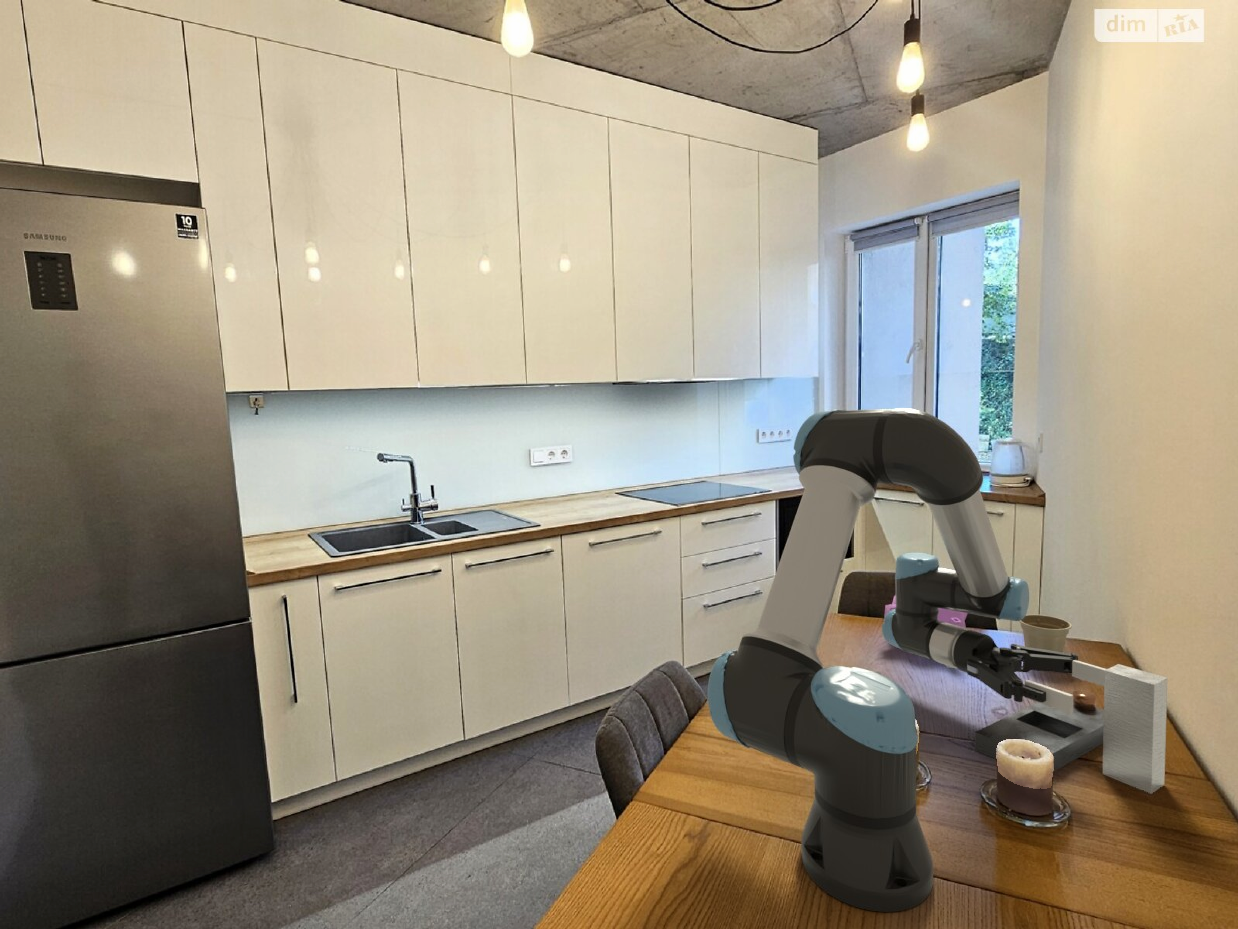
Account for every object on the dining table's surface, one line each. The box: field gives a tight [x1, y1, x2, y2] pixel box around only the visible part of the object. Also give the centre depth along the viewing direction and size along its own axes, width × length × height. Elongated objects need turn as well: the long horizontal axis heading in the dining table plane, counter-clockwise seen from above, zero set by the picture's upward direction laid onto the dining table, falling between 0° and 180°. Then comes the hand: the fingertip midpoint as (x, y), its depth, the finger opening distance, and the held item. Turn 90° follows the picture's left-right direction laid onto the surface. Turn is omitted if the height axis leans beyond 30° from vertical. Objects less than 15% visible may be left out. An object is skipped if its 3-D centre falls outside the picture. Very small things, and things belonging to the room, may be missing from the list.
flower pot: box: [1018, 614, 1073, 652], centre depth 136 cm, size 9×9×9 cm
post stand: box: [974, 690, 1104, 772], centre depth 105 cm, size 25×10×5 cm, turn 119°
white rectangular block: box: [1102, 663, 1168, 795], centre depth 94 cm, size 4×6×16 cm, turn 29°
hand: (1096, 693), depth 98 cm, fingers open, 13 cm apart
